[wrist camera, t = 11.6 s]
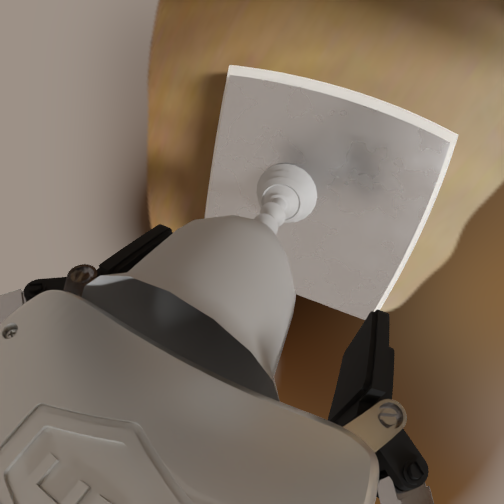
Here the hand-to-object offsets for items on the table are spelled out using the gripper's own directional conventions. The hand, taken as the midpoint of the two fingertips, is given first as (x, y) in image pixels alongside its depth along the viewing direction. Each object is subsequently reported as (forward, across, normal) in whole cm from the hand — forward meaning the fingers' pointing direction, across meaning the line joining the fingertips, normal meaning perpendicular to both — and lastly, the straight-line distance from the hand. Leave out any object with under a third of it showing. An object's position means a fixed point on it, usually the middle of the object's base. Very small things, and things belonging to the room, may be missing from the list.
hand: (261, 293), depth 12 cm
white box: (+18, 0, +2) cm, 19 cm away
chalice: (+13, +2, 0) cm, 13 cm away
